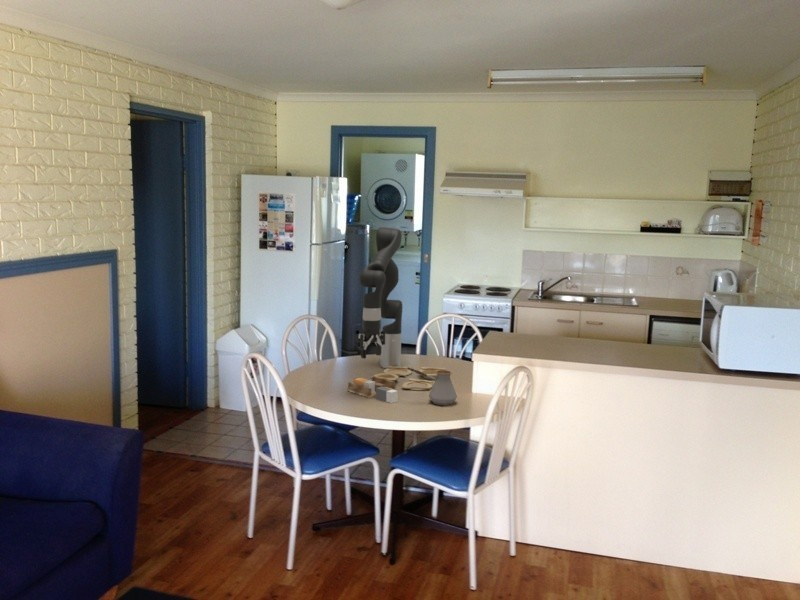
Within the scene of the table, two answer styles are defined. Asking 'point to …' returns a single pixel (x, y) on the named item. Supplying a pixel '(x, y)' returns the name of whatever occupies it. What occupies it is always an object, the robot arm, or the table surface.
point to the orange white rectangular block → (365, 383)
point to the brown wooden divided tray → (367, 391)
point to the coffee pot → (440, 387)
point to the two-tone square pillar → (386, 394)
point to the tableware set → (401, 371)
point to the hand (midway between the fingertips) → (370, 356)
